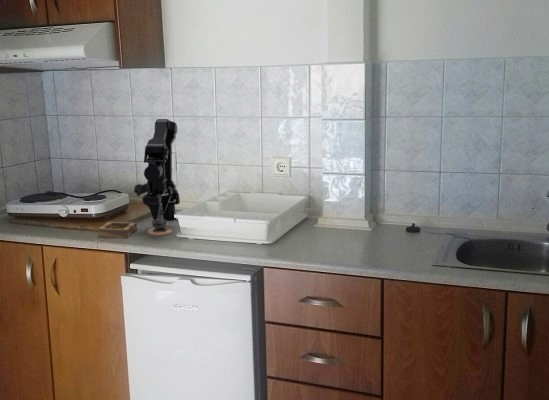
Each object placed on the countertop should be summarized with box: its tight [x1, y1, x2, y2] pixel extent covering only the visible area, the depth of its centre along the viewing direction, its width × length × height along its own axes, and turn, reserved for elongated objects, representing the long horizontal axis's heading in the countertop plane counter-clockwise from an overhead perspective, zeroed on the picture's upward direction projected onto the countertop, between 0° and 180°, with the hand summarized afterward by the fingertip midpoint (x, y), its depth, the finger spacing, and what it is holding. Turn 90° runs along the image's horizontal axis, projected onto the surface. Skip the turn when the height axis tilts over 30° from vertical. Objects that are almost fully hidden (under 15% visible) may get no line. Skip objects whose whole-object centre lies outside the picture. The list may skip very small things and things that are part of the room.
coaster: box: [147, 227, 173, 236], centre depth 233 cm, size 9×9×1 cm
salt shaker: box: [151, 204, 168, 232], centre depth 232 cm, size 6×6×12 cm
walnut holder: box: [96, 221, 138, 239], centre depth 231 cm, size 11×11×3 cm
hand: (158, 216), depth 232 cm, fingers open, 9 cm apart
